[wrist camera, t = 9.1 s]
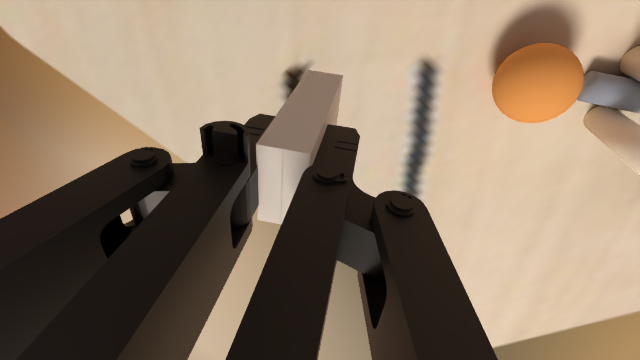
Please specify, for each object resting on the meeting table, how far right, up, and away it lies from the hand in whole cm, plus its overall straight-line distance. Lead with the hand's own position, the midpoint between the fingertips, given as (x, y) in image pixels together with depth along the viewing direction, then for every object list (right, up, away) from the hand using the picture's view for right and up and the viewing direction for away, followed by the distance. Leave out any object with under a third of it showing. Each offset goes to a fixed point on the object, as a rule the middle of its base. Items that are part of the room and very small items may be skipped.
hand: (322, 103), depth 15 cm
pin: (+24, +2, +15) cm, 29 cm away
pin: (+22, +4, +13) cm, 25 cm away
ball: (+17, +4, +11) cm, 21 cm away
